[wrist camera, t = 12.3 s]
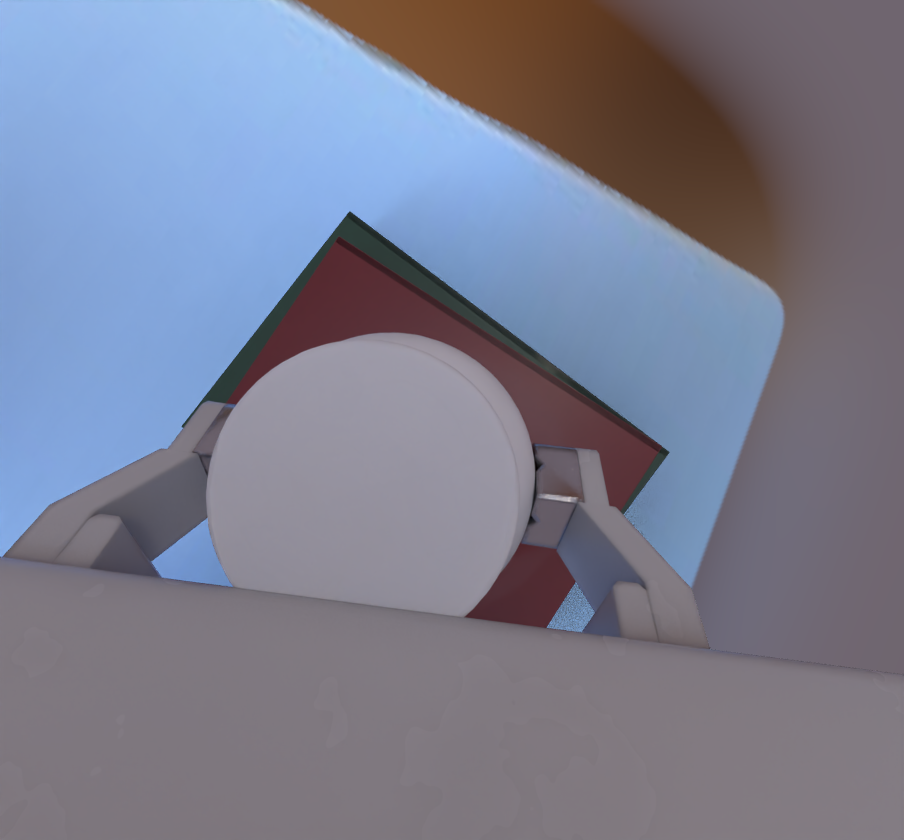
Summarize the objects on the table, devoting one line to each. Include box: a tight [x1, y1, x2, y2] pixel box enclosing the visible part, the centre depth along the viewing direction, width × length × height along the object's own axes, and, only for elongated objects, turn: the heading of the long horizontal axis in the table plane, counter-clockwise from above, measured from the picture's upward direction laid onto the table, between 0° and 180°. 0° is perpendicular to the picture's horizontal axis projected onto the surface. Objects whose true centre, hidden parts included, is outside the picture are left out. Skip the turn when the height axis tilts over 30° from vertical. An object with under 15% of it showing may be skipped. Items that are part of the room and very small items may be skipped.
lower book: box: [182, 212, 669, 514], centre depth 27 cm, size 22×15×3 cm
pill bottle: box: [206, 333, 535, 617], centre depth 12 cm, size 6×6×11 cm
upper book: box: [226, 236, 662, 628], centre depth 24 cm, size 19×13×3 cm
